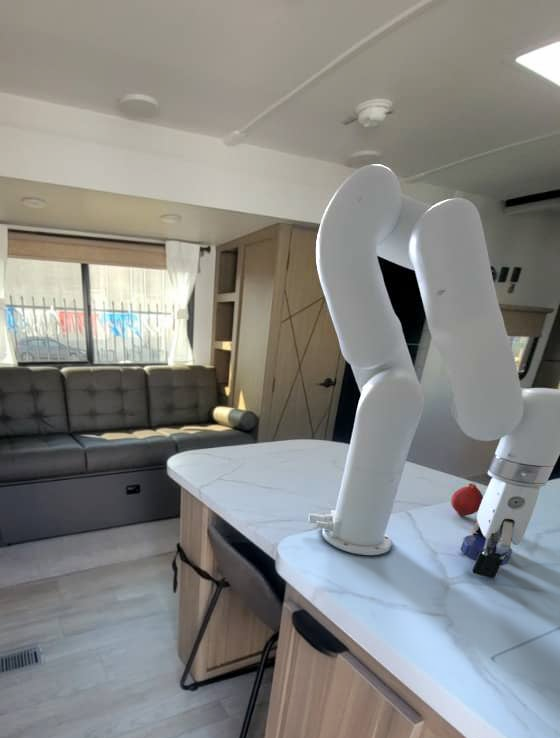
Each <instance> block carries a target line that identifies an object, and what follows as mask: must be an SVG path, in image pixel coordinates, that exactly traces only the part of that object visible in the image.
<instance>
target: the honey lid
mask: <svg viewBox="0 0 560 738" xmlns="http://www.w3.org/2000/svg"><path fill="white" fill-rule="evenodd" d="M463 539H464V540H463V542H462V544H461V547H460V551H461V553H462V554H463V555H464V556H465V557H467V558H469V559H471V560H473V561H475V562H476V560H477V558H478V555H479V553H480V552H483V548H484V545H485V541H486V538H485V537H484V536H479V535H471V534H470V535H467V536H465V537H464V538H463ZM497 543H498V542H493V541H491V545H490V548H491V547H492V546H493V545H495V546H496V545H497ZM512 554H513V549H512V548H511V547H510V549H509V550H508V551H507V553H506V554H505V557H504V559H503V561H502V563H501V565H500V567H502V566H506V565H507V564H508V562H509V561H510V558H511V556H512Z"/></svg>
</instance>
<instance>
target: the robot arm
mask: <svg viewBox="0 0 560 738" xmlns="http://www.w3.org/2000/svg"><path fill="white" fill-rule="evenodd" d="M475 205H476V204H474V203H473V202H472V201H470V200H468V199H466V198H463V197H453V198H448V199H445V200H443V201H440V202H438V203H436V204H435V205H432V204H428V203H425V202H422V201H419V200H417V199H415V198H412V197H410V196H407V195H405V194H403V193H402V187H401V184H400V180H399V179H398V177H397V175H396V174H395V173H394V172H393V170H391V169H390V168H389V167H388V166H385V165H384V164H377V163H375V164H368V165H364V166H362V167H360V168H358V169H356V170H355V171H354V172H353V173H351V174H350V175H349V176H348V177H347V178H346V179H345V180H344V181H343V182H342V183H341V184H340V186H339V187H338V188H337V190H336V191H335V193H334V194H333V196H332V198H331V199H330V201H329V203H328V205H327V207H326V209H325V211H324V213H323V215H322V219H321V222H320V225H319V229H318V233H317V238H316V245H315V246H316V247H315V260H316V267H317V274H318V278H319V282H320V285H321V288H322V292H323V296H324V298H325V301H326V304H327V309H328V311H329V315H330V318H331V321H332V323H333V327H334V330H335V332H336V336H337V339H338V342H339V343H338V344H339V347H340V351H341V355H342V356H343V358H344V360H345V361H346V362H347V363H348V364H349V365H350V367H351V370H352V373H353V376H354V378H355V379H354V380H355V382H356V384H357V387H358V390H359V393H360V397H359V400H358V404H357V406H356V407H357V408H356V412H355V418H354V423H353V428H352V432H351V438H350V442H349V447H348V452H347V456H346V460H345V465H344V471H343V475H342V480H341V483H340V488H339V493H338V498H337V502H336V506H335V509H331V510H330V513H326V514H325V515H322V514H317V513H309V514H308V518H307V519H308V520H307V522H308V524H314V525H315V529H321V530H322V533H321V534H322V536H323V538H324V539H325V541H327V542H328V543H329V544H330V545H331V546H333V547H335V548H337V549H339V550H342V551H345V552H348V553H351V554H356V555H362V556H378V555H382V554H383V555H384V554H385V553H387V552H389V551H390V549H391V547H392V542H393V541H392V538H391V537H390V536H389V534H387V532H386V531H387V527H388V524H389V520H390V517H391V513H392V510H393V506H394V503H395V500H396V496H397V493H398V490H399V486H400V483H401V480H402V475H403V473H404V469H405V465H406V462H407V460H408V459H407V458H408V455H409V452H410V448H411V445H412V443H413V439H414V436H415V434H416V431H417V428H418V425H419V423H420V420H421V416H422V414H423V410H424V404H425V395H424V390H423V386H422V385H421V383H420V381H419V379H418V375H417V373H416V370H415V367H414V364H413V360H412V357H411V354H410V351H409V348H408V344H407V342H406V339H405V334H404V332H403V327H402V323H401V321H400V319H399V317H398V316H397V314H396V313H395V310H394V308H393V305H392V302H391V299H390V296H389V293H388V290H387V287H386V284H385V281H384V275H383V272H382V270H381V266H380V263H379V258H378V257H380V258H382V259H384V260H387V261H388V262H391V263H394V264H396V265H398V266H401V267H403V268H405V269H409V270H412V271H414V273H415V277H416V281H417V285H418V288H419V292H420V297H421V300H422V305H423V310H424V313H425V318H426V322H427V327H428V330H429V333H430V336H431V339H432V342H433V343H434V345H435V347H436V349H437V350H438V352H439V354H440V356H441V359H442V361H443V363H444V366H445V369H446V373H447V376H448V381H449V383H450V388H451V391H452V396H453V398H452V401H451V403H450V411H451V416H452V418H453V419H454V421H455V422H456V424H457V425H458V426H459V428H460V430H461V431H462V432H463V433H464V434H465V435H466V436H468V438H471V439H473V440H475V441H480V442H481V441H482V442H491V441H496V440H499V442H498V445H497V446H496V450H495V452H494V456H493V458H492V461H491V463H490V465H489V467H488V471H487V475H488V476H489V477H491V479H490V481H489V483H488V486H487V487H486V489H485V492H484V495H483V499H482V502H481V504H480V507H479V510H478V511H477V514H476V521H478V524H477V526H476V527H475V531H474V532H475V533H473V535H479V536H484V537H485V538H486V541H485V545H484V548H483V552H480V553H479V555H478V558H477V560H476V561H475V562H474V565H473V567H472V571H471V572H472V573H473V574H474V575H477V576H483V577H486V578H491V579H495V578H496V576H497V574H498V572H499V570H500V567H501V566H500V565H501V563H502V561H503V559H504V557H505V554H506V553H507V551H508V550H509V549H510V548H511V545H512V544H513V545H515V546H518V545H520V544H521V543H522V541H523V539H524V536H525V533H526V532H527V529H528V526H529V524H530V521H531V517H532V516H533V513H534V510H535V507H536V504H537V501H538V497H539V494H540V489H541V487H545V486H546V485H547V483H548V480H549V478H550V477H551V474H552V473H553V470H554V467H555V465H556V463H557V461H558V459H559V457H560V389H558V388H549V387H531V388H526V387H522V386H521V382H520V381H521V380H520V377H519V371H518V366H517V363H516V359H515V355H514V352H513V348H512V345H511V341H510V338H509V336H508V331H507V329H506V325H505V321H504V316H503V314H502V311H501V308H500V304H499V299H498V296H497V291H496V287H495V281H494V279H493V274H492V268H491V261H490V257H489V253H488V246H487V243H486V236H485V232H484V227H483V224H482V220H481V215H480V212H479V211H478V208H477V207H476V206H475ZM494 534H495V535H499V538H494V537H492V536H493V535H494ZM491 541H493V542H498V543H497V545H496V546H495V545H493V546H492V547H491V548H490V545H491Z"/></svg>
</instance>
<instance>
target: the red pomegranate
mask: <svg viewBox="0 0 560 738" xmlns="http://www.w3.org/2000/svg"><path fill="white" fill-rule="evenodd" d="M483 497H484V495H483V493H482V491H480V489H479V488H478V487H477V485H476V484H475V483H474V482H469V483H468V485H466V486H463V487H461V488H459V489H457V490H456V491H455V492H454V493H453V494H452V496H451V499H450V504H451V507H452V509H453V510H455V512H456V513H457V515H458V516H460V517H466V516H470V515H473V514H475V513H478V510H479V507H480V504H481V502H482V499H483Z"/></svg>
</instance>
